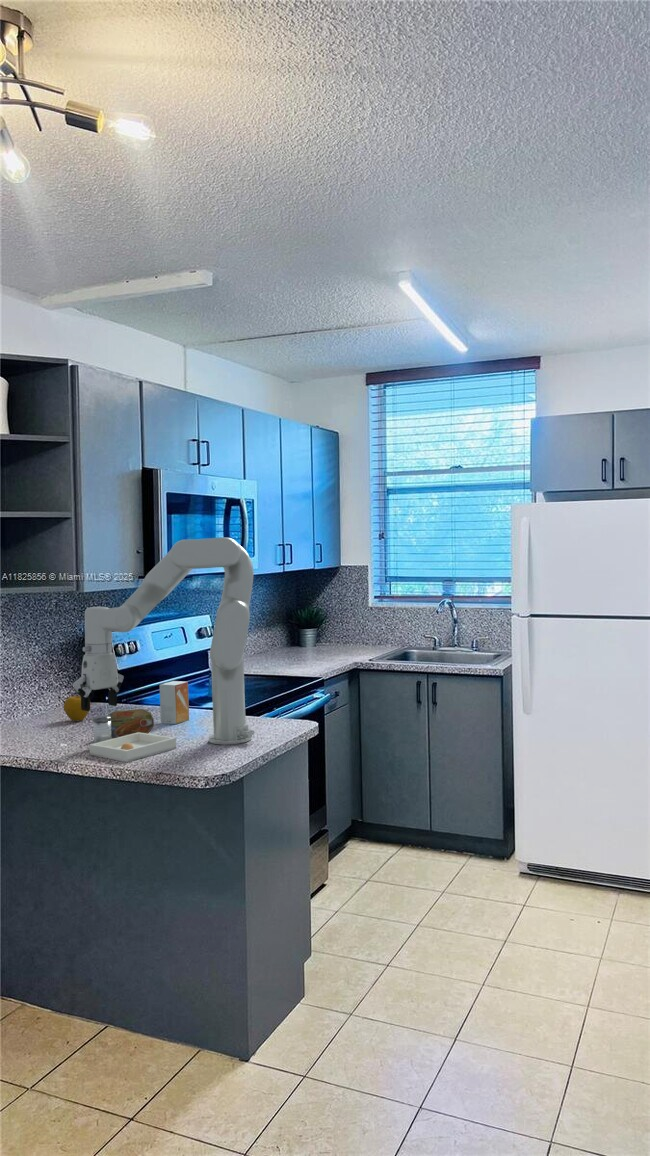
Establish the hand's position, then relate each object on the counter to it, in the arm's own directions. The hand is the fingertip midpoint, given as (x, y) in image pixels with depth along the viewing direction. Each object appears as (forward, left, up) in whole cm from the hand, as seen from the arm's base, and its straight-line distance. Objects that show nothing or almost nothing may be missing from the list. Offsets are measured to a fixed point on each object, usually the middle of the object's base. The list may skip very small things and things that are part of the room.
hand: (99, 707), depth 245 cm
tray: (-12, -1, -12) cm, 17 cm away
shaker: (0, 0, -12) cm, 12 cm away
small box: (+9, -37, -12) cm, 40 cm away
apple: (+41, -22, -12) cm, 48 cm away
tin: (+5, -14, -12) cm, 19 cm away
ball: (-17, +5, -9) cm, 20 cm away
